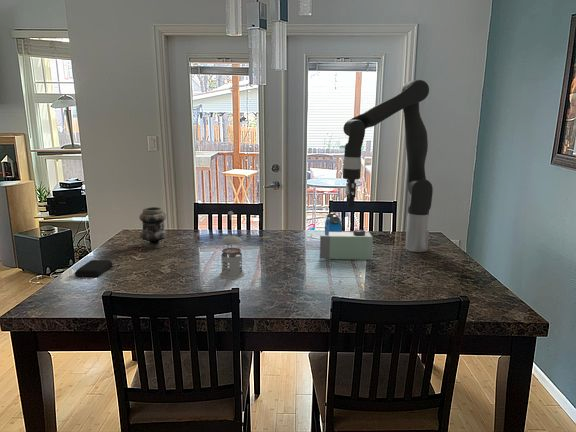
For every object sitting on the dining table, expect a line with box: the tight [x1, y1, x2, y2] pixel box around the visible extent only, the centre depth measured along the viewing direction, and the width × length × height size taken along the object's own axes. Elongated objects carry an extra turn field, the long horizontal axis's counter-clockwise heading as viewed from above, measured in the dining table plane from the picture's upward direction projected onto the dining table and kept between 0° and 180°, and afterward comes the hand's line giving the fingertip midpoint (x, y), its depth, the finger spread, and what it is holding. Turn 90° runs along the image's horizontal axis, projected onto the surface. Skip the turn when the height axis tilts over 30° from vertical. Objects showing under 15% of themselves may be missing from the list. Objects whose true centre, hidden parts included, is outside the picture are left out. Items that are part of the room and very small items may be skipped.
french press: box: [219, 210, 246, 280], centre depth 162 cm, size 10×12×25 cm
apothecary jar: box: [139, 206, 168, 250], centre depth 198 cm, size 12×12×18 cm
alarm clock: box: [324, 211, 343, 236], centre depth 202 cm, size 13×6×15 cm, turn 5°
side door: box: [319, 235, 374, 261], centre depth 181 cm, size 22×1×10 cm, turn 88°
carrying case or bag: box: [74, 259, 114, 279], centre depth 166 cm, size 11×3×15 cm
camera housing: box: [329, 229, 372, 261], centre depth 185 cm, size 18×8×12 cm, turn 88°
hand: (350, 204), depth 185 cm, fingers open, 8 cm apart
